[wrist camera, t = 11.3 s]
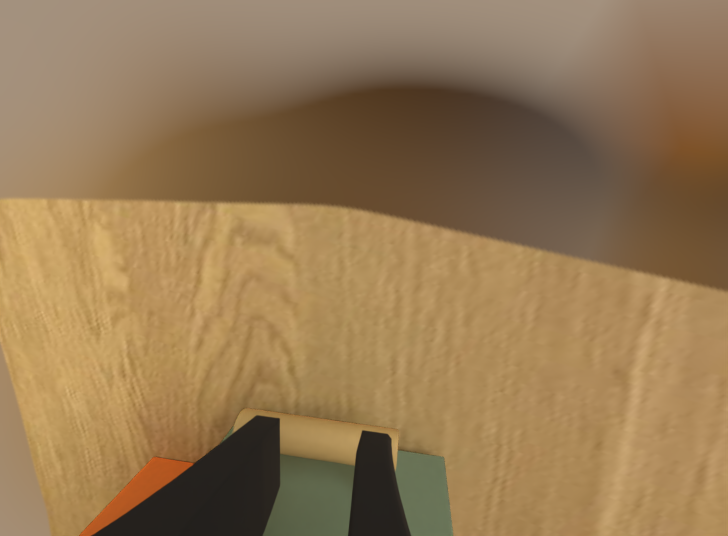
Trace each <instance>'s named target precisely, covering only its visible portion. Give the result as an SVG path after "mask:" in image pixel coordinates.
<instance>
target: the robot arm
mask: <svg viewBox="0 0 728 536" xmlns="http://www.w3.org/2000/svg"><path fill="white" fill-rule="evenodd" d="M279 488H280V418H274V417H267V416H260V415H256V416H255V417H254V418H252V419H251V420H250V421H248V422H247V423H246V424H244V425H243V426H242V427H241V428H239V429H238V430H237V431H235V432H234V433H233V434H232V435H230V436H229V437H228V438H227V439H225V440H224V441H223V442H222V443H220V444H219V445H218V446H216V447H215V448H214V449H213V450H211V451H210V452H209V453H208V454H206V455H205V456H204V457H202V458H201V459H200V460H198V461H197V462H196V463H194V464H193V465H192V466H190V467H189V468H188V469H187V470H185V471H184V472H183V473H181V474H180V475H179V476H177V477H176V478H175V479H173V480H172V481H171V482H169V483H168V484H166V485H165V486H163V487H162V488H161V489H159V490H158V491H156V492H155V493H154V494H152V495H151V496H149V497H148V498H146V499H145V500H144V501H142V502H141V503H139V504H138V505H137V506H135V507H134V508H132V509H131V510H130V511H128V512H127V513H125V514H124V515H122V516H121V517H119V518H118V519H116V520H115V521H113V522H112V523H110V524H109V525H107V526H105V527H104V528H102V529H101V530H99V531H98V532H96V533H95V534H93V535H91V536H263V533H264V531H265V528H266V526H267V523H268V520H269V517H270V514H271V512H272V509H273V506H274V503H275V500H276V497H277V494H278V491H279ZM348 536H411V534H410V530H409V527H408V523H407V520H406V516H405V512H404V508H403V505H402V501H401V497H400V493H399V489H398V484H397V479H396V474H395V469H394V463H393V456H392V438H391V437H390V436H389V435H388V434H386V433H379V432H372V431H365V430H362V433H361V437H360V440H359V444H358V448H357V451H356V459H355V469H354V479H353V490H352V500H351V510H350V520H349V530H348Z"/></svg>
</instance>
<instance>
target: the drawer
mask: <svg viewBox="0 0 728 536" xmlns="http://www.w3.org/2000/svg"><path fill="white" fill-rule="evenodd" d="M256 415H260V416H267V417H274V418H280V488H279V491H278V494H277V497H276V500H275V503H274V506H273V509H272V512H271V514H270V517H269V520H268V523H267V526H266V528H265V531H264V533H263V536H348V530H349V520H350V510H351V500H352V490H353V479H354V469H355V459H356V451H357V448H358V444H359V440H360V437H361V433H362V430H365V431H372V432H379V433H386V434H388V435H389V436H390V437H391V438H392V456H393V463H394V469H395V474H396V479H397V484H398V489H399V493H400V497H401V501H402V505H403V508H404V512H405V516H406V520H407V523H408V527H409V530H410V534H411V536H453V529H452V521H451V512H450V504H449V495H448V487H447V478H446V469H445V461H444V457H441V456H434V455H427V454H420V453H414V452H407V451H400V450H398V439H399V430H398V429H393V428H386V427H378V426H371V425H364V424H357V423H350V422H343V421H336V420H329V419H322V418H315V417H307V416H300V415H293V414H286V413H279V412H272V411H265V410H258V409H251V408H244V409H243V410H242V411H241V412H240V413H239V415H238V417H237V419H236V421H235V424H234V426H233V427H232V428H231V430H230V431H229V432H228V434H227V435H226V436H225V438H224V439H223V440H222V442H223V441H224V440H225V439H227V438H228V437H229V436H230V435H232V434H233V433H234V432H235V431H237V430H238V429H239V428H241V427H242V426H243V425H244V424H246V423H247V422H248V421H250V420H251V419H252V418H254V417H255V416H256ZM222 442H221V443H222Z"/></svg>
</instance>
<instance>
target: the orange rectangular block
mask: <svg viewBox="0 0 728 536" xmlns="http://www.w3.org/2000/svg"><path fill="white" fill-rule="evenodd" d="M193 464H194V463H189V462H183V461H177V460H171V459H165V458H159V457H153V458H152V459H151V460H150V461H149V462H148V463H147V464H146V465H145V466H144V467H143V469H142V470H141V471H140V472H139V473H138V474H137V475H136V476H135V477H134V478H133V479H132V480H131V481H130V482H129V483H128V484H127V485H126V486H125V487H124V489H123V490H122V491H121V492H120V493H119V494H118V495H117V496H116V497H115V498H114V499H113V500H112V501H111V502H110V503H109V504H108V505H107V506H106V507H105V509H104V510H103V511H102V512H101V513H100V514H99V515H98V516H97V517H96V518H95V519H94V520H93V521H92V522H91V523H90V524H89V525H88V526H87V527H86V529H85V530H84V531H83V532H82V533H81V534H80V535H79V536H91V535H93V534H95V533H96V532H98V531H99V530H101V529H102V528H104V527H105V526H107V525H109V524H110V523H112V522H113V521H115V520H116V519H118V518H119V517H121V516H122V515H124V514H125V513H127V512H128V511H130V510H131V509H132V508H134V507H135V506H137V505H138V504H139V503H141V502H142V501H144V500H145V499H146V498H148V497H149V496H151V495H152V494H154V493H155V492H156V491H158V490H159V489H161V488H162V487H163V486H165V485H166V484H168V483H169V482H171V481H172V480H173V479H175V478H176V477H177V476H179V475H180V474H181V473H183V472H184V471H185V470H187V469H188V468H189V467H190V466H192V465H193Z"/></svg>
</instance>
